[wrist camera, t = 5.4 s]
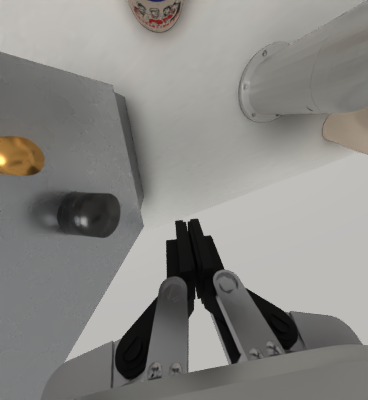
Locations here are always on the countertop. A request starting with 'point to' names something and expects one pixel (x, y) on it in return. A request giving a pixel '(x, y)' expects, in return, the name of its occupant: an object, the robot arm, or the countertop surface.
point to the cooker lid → (57, 215)
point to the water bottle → (348, 129)
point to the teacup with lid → (156, 13)
